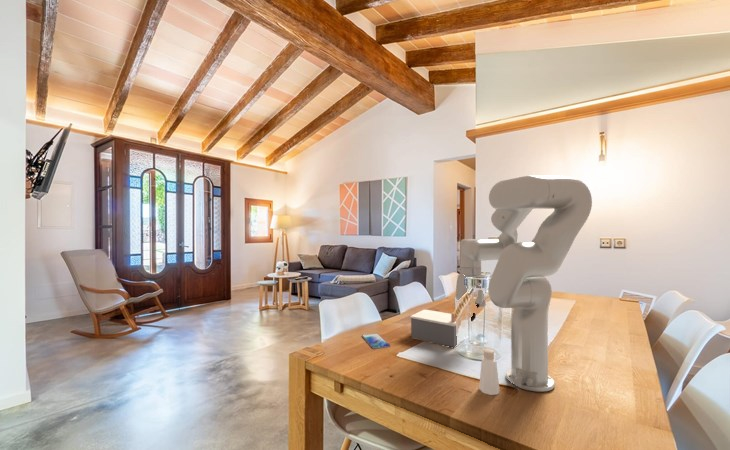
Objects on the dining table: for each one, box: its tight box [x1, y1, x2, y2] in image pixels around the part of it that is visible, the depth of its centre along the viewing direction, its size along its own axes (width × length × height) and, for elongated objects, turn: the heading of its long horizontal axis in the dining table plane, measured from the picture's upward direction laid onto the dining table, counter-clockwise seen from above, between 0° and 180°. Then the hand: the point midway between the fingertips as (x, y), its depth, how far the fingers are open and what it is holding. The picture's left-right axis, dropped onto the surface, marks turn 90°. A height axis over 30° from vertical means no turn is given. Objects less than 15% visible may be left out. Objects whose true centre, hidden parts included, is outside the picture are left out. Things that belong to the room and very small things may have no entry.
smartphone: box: [361, 333, 391, 350], centre depth 126 cm, size 7×1×15 cm
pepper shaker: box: [478, 348, 501, 396], centre depth 88 cm, size 5×5×11 cm
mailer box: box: [410, 318, 457, 349], centre depth 128 cm, size 12×18×8 cm, turn 53°
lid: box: [409, 309, 456, 326], centre depth 128 cm, size 12×18×4 cm
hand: (471, 320), depth 120 cm, fingers closed
